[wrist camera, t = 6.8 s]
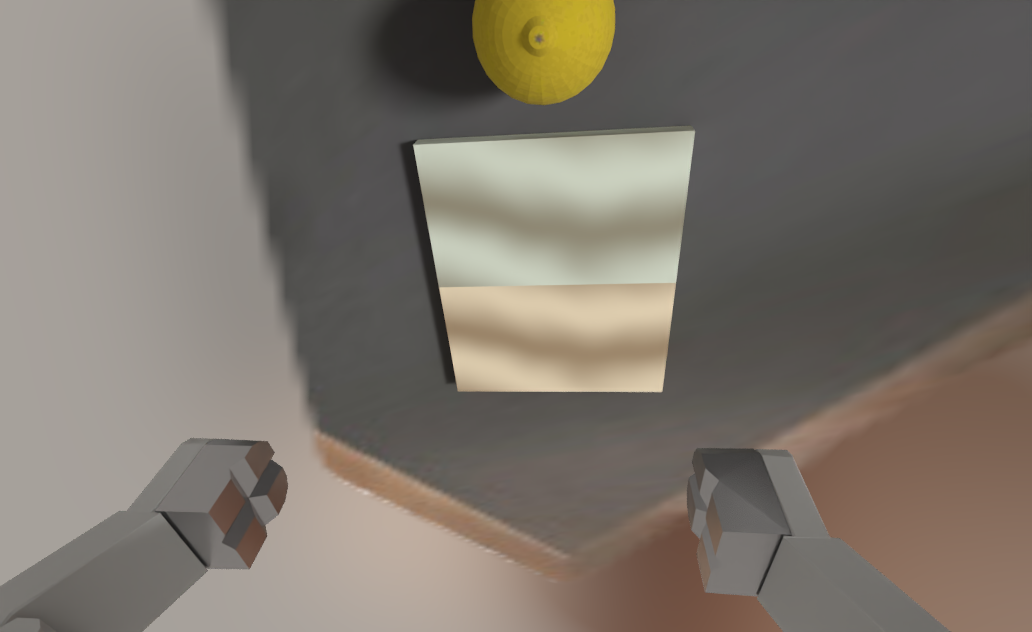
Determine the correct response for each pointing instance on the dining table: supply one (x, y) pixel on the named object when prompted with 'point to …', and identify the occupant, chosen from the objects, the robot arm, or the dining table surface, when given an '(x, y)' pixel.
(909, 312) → the dining table surface
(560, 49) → the lemon
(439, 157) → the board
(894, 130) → the dining table surface
